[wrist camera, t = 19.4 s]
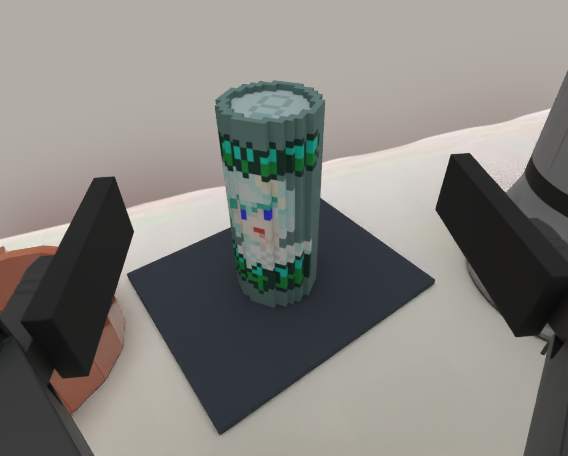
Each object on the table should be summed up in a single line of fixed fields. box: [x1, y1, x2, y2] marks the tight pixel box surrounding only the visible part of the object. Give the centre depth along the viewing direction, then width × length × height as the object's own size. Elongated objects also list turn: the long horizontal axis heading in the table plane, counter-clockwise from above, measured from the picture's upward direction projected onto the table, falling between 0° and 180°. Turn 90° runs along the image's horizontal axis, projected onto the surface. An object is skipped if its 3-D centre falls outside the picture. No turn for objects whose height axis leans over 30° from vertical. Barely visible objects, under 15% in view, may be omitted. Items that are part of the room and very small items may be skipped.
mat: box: [127, 198, 435, 434], centre depth 33 cm, size 20×16×1 cm
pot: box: [0, 246, 125, 414], centre depth 27 cm, size 13×16×4 cm
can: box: [215, 81, 325, 308], centre depth 28 cm, size 6×6×15 cm
